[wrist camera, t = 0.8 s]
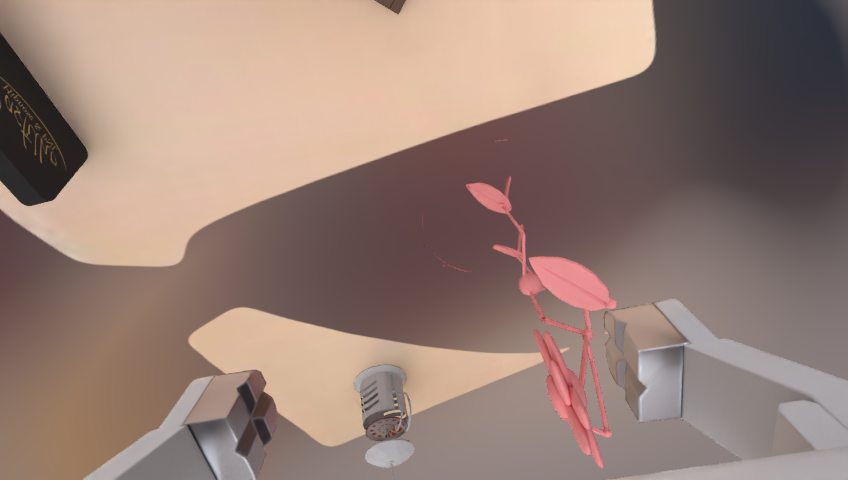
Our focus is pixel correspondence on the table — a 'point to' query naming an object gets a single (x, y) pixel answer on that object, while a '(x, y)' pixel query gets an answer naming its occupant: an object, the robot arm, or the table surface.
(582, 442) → the figurine
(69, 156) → the nameplate
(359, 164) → the table surface
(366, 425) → the french press
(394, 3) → the walnut tray
